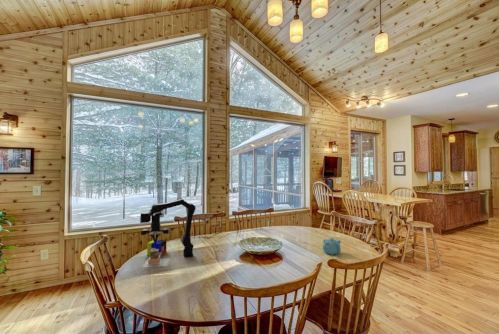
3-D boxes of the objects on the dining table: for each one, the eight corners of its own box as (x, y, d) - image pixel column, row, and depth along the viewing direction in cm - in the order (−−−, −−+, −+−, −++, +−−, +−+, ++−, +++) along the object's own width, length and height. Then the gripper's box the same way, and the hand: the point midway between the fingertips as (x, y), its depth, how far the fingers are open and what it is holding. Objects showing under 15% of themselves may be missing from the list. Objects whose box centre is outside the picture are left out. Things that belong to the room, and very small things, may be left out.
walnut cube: (158, 255, 172) (158, 248, 172) (157, 258, 167) (157, 251, 167) (151, 256, 171) (151, 249, 171) (149, 259, 166) (150, 251, 166)
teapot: (332, 259, 179) (332, 243, 179) (315, 252, 193) (315, 237, 193) (349, 254, 190) (349, 239, 190) (331, 248, 204) (331, 234, 204)
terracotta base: (160, 259, 173) (160, 255, 173) (158, 263, 166) (158, 258, 166) (150, 260, 172) (150, 255, 172) (148, 263, 165) (148, 259, 165)
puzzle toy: (159, 257, 179) (159, 244, 179) (147, 256, 181) (147, 243, 181) (166, 252, 189) (166, 240, 189) (154, 251, 191) (155, 239, 191)
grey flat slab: (170, 259, 176) (170, 257, 176) (167, 266, 162) (167, 265, 162) (146, 260, 173) (146, 259, 173) (142, 268, 159) (142, 267, 159)
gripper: (170, 218, 183) (170, 239, 183) (144, 219, 179) (144, 240, 179) (168, 222, 172) (168, 243, 172) (140, 223, 168) (140, 245, 168)
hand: (155, 243), depth 173 cm, fingers closed
